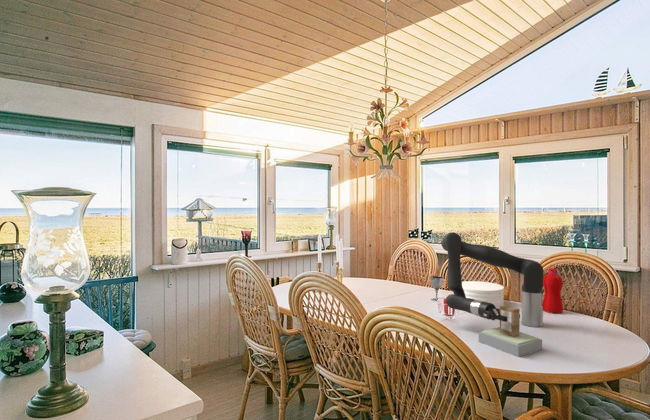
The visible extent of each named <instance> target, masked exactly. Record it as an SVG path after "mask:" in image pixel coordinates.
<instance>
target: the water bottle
mask: <svg viewBox="0 0 650 420" xmlns="http://www.w3.org/2000/svg"><path fill="white" fill-rule="evenodd" d="M547 272H548V273H546V274H545V275H544V278H543V290H544V296H543V299H542V308H543V312H547V313H549V314H561V313H563V311H564V305H563V300H562V296H561V294H562V289H563V284H564V282H563V278H562V277H561V276H560V275H559V274H558V269H557V268H553V267H552V268H548V269H547Z"/></svg>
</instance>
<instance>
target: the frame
mask: <svg viewBox="0 0 650 420" xmlns="http://www.w3.org/2000/svg"><path fill="white" fill-rule="evenodd" d="M520 309H521V308H518V307H514V306H509V305H507V304H504V306H500V315H503V316H506V317H507V322H504V321H501V320H499V327H500V333H502V334H505V335H508V336H511V337H517V336H519V334H520V326H521V325H520V322H521V321H520V319H521V314H520Z"/></svg>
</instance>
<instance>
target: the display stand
mask: <svg viewBox="0 0 650 420" xmlns="http://www.w3.org/2000/svg"><path fill="white" fill-rule="evenodd" d="M478 343H481V344H483V345H486V346H489V347H491V348H495V349H497V350H500V351H501V352H505V353H507V354H510V355H512V356H515V357H522V356H526V355H529V354H532V353H536V352H540V351H542V350H543V339H542V338H539V337H537V336H534V335H530V334H527V333H525V332H522V331H521V332H520V334H519V336H517V337H511V336H508V335H505V334H502V333H500V326H497V327H494V328H489V329H485V330H482V331H481V330H480V331H478Z"/></svg>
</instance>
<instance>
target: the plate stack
mask: <svg viewBox="0 0 650 420" xmlns="http://www.w3.org/2000/svg"><path fill="white" fill-rule="evenodd" d="M462 287H463V290H464V293H465V296H466V298H471V299H475V300H480V301H484V302H488V303H492V304H494V305H495V307H496V308H500V306H504V305H505V303H504V302H505V300H504V299H505V296H504V294H505V291H504V290H505V287H504V286H503V285H502V284H499V283H494V282H488V281H478V280H476V281H475V280H466V281H464V280H463V281H462Z"/></svg>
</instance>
